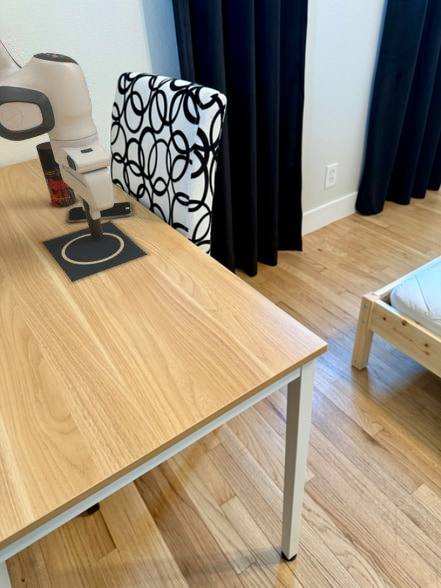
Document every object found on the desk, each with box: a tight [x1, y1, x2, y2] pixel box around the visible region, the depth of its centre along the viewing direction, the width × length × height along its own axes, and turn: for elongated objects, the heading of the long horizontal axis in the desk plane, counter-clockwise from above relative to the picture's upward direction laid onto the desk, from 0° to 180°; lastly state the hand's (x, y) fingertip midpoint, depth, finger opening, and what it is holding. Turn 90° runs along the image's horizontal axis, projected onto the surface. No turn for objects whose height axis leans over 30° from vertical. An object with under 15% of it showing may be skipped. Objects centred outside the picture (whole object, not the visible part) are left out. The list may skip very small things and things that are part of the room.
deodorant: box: [35, 140, 77, 209], centre depth 107 cm, size 6×6×15 cm
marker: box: [82, 198, 103, 238], centre depth 90 cm, size 3×3×13 cm
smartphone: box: [67, 201, 133, 224], centre depth 105 cm, size 8×1×15 cm
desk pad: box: [42, 220, 148, 283], centre depth 92 cm, size 16×19×1 cm
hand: (92, 214), depth 91 cm, fingers closed on marker, 2 cm apart
